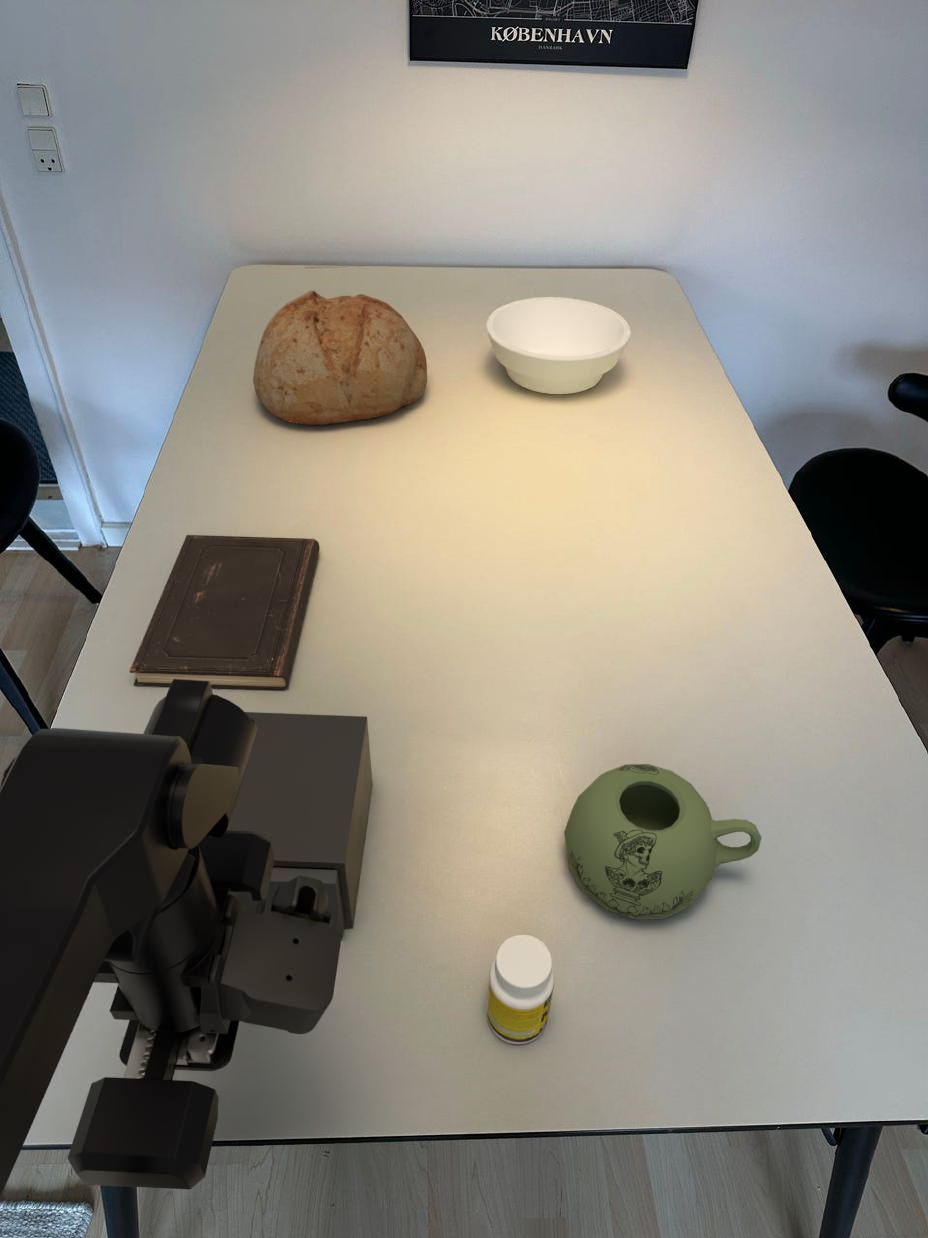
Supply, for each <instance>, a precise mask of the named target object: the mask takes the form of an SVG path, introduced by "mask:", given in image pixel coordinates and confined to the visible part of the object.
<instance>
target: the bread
mask: <svg viewBox="0 0 928 1238" xmlns="http://www.w3.org/2000/svg"><path fill="white" fill-rule="evenodd" d="M427 382H428V365H427V357H426V352H425V348H424V347H423V345H422V343H421V341H420V340H419V338H418V336H417V335H416V333H415V332H414V331H413V329H412V328H411V327H410V325H409V323H407V321H406V319H405V318H404V317H403V316H402V314H401V313H399V312H398V311H397V310H396V309H395V308H394V307H392V306H391V305H390V304H389V303H387V302H385V301H383V300H381V299H379V298H374V297H372V296H369V295H367V294H363V293H360V294H357V295H354V296H351V295H340V296H336V297H331V298H325V297H323V296H322V295H320V294H319V293H317V292H316V291H315V290H309V291H308V292H306V293H303V294H302V295H300V296H298V297H296V298H294V299H293V300H291V301H289V302H287V303H285V304H284V305H283V306H282V307H281V308H279V310H278V311H277V312H276V313H275V314H274V315H273V316H272V317H271V318H270V320H269V321H268V323H267V325H266V327H265V329H264V330H263V333H262V336H261V338H260V342H259V345H258V349H257V352H256V358H255V362H254V368H253V376H252V383H253V387H254V391H255V394H256V396H257V398H258V399H259V400H260V402H261V403H262V405H263V406H264V407H265V408H266V409H267V410H268V411H269V412H270V413H272V415H274V416H276V418H278V417H280V418H279V419H281V418H282V419H281V420H283V421H286V422H287V423H288V422H289V423H290V424H299V425H308V426H309V425H310V426H319V425H320V426H321V425H329V423H330V424H331V425H332V424H339V423H346V422H352V421H359V420H368V419H373V418H377V417H381V416H382V417H383V416H386V415H390V414H391V413H393V412H395V411H397V410H398V409H400V408H402V407H404V406H407V405H410V404H412V403H414V402H415V401H417V400H418V399H419V398H420V397H421V396H422V395H423V394H424V392H425V389H426V387H427ZM290 421H291V422H290ZM296 422H297V423H296ZM303 423H305V424H303Z"/></svg>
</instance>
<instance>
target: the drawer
mask: <svg viewBox="0 0 928 1238" xmlns="http://www.w3.org/2000/svg"><path fill="white" fill-rule="evenodd" d="M300 875H301V876H305V877H310V878H314V879H318V880H321V881H322V882H323V885H324V888H325V890H326V893H327V895H328V903H327V909H328V911H329V913H336V914H338V916H337V917H338V923H337V931H338V933H339V935H340V937H343V936H344V931H345V928H344V926H345V920H344V913H343V906H342V898H341V891H340V884H339V877H338V870H335V868H313V867H289V866H273V870H272V874H271V879H270V883H269V888H268V892H267V897H266V898H269V899H273V897H274V895H275V892H276V890H277V888H278V887H279V886H281V885H282V884H284V883H286V882H288V881H290V880H292V879H294V878H296V877H298V876H300ZM231 894H236V895H237V897H238V901H239V903H240V904H241V905H242V906H243V907H244V908H245V910H246V913H256V908H257V904H258V901H252V897H251V893H250V892H231ZM266 898H265V899H266Z"/></svg>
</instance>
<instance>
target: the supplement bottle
mask: <svg viewBox="0 0 928 1238" xmlns="http://www.w3.org/2000/svg"><path fill="white" fill-rule="evenodd" d="M488 972H489V974H488V984H487V986H488V987H487V994H486V995H487V996H486V1009H485V1013H486V1019H487V1023H488V1025H489V1027H490V1028H491V1031H492V1033H494V1035H495V1036H497V1037H498V1038H499V1039H500V1040H502V1041H504V1042H506V1043H508V1044H513V1045H524V1044H528V1043H531V1042H533V1041H535V1040H536V1039H538V1038H539V1037H540V1036H541V1035H542V1033H543V1032H544V1030H545V1029H546V1026H547V1023H548V1021H549V1020H548V1019H549V1016H550V1015H549V1014H550V1009H551V1004H552V998H553V992H554V988H555V974H554V969H553V958H552V955H551V951H550V949H549V948H548V946H546V944H545V943H544V942H543V941H542V940H540V939H539V938H537V937H536V936H533V935H529V934H517V935H516V934H515V935H512V936H510V937H508V938H507V939H505V940H503V942H502V943H501V944H500V946H499V947H498V949H497V951H496V955H495V957H494V959H493V960H492V963H491V965H490V968H489V971H488Z"/></svg>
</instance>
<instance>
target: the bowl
mask: <svg viewBox="0 0 928 1238" xmlns="http://www.w3.org/2000/svg"><path fill="white" fill-rule="evenodd" d="M485 329H486V332H487V335H488V339H489V341H490V345H491V348H492V351H493V355H494V357H495V358H496V359H497V361H498V363H500V364H501V365H502V366H503V367H505V370H506V373H507V375H508V377H509V378H510V379H511V381H513V382H514V383H515V384H517V385H518V386H520V387H522V388H525V389H527V390H530V391H533V392H537V393H543V394H548V395H549V394H550V395H551V394H552V395H553V394H554V395H568V394H575V393H580V392H583V391H586V390H589V389H591V388H593V387H594V386H596V385H597V384H598V383H599V382H600V381H601V379H602V377H603V375H604V374H606V373H607V372H609V371H610V370H612V369H613V368H614V367H615V366H616V365H617V363H618V362H619V360H620V358H621V356H622V355H623V353H624V350H625V349H626V347H627V345H628V343H629V341H630V338H631V336H632V335H631V334H632V333H631V327H630V325H629V323H628V322H627V320H626V319H625V318H623V317H622V315H620V314H619V313H617V311H616V312H615V311H614V310H612V309H611V308H609V307H606V306H603V305H601V304H598V303H595V302H592V301H588V300H583V299H578V298H571V297H561V296H539V297H538V296H537V297H530V298H524V299H519V300H514V301H512V302H511V301H510V302H509V303H506V304H503V305H502V306H499V307H498V308H496V309H495V310H494V311H492V313H490V314H489V316H488V318H487V320H486V323H485Z"/></svg>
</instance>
